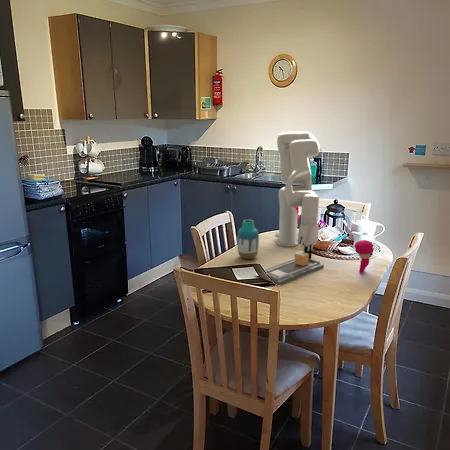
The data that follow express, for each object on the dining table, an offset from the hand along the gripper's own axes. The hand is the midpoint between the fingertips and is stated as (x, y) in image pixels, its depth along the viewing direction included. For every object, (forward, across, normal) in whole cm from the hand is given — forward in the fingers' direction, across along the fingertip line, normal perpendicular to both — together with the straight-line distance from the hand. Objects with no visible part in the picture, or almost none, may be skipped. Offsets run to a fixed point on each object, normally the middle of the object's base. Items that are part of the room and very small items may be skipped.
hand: (307, 258), depth 204 cm
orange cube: (+2, +4, 0) cm, 5 cm away
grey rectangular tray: (+4, +12, 0) cm, 13 cm away
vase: (+4, +14, -26) cm, 30 cm away
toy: (+4, -12, +22) cm, 25 cm away
